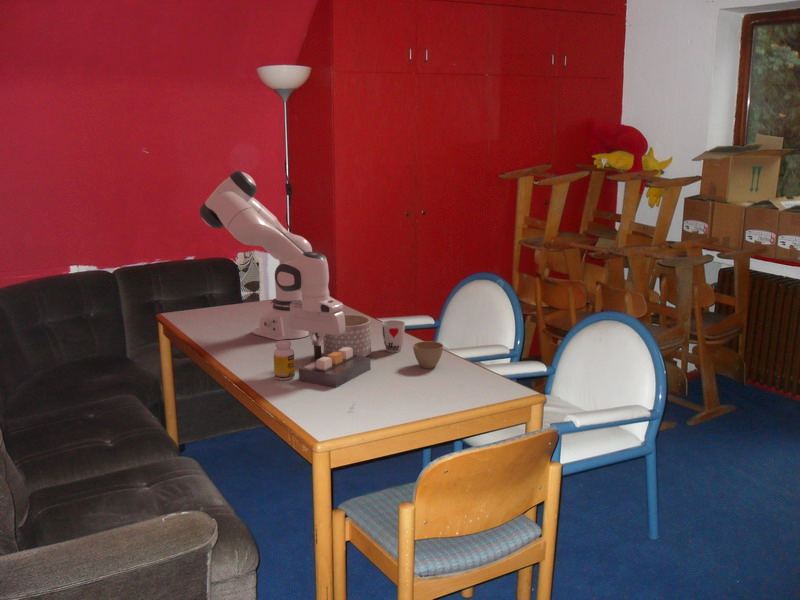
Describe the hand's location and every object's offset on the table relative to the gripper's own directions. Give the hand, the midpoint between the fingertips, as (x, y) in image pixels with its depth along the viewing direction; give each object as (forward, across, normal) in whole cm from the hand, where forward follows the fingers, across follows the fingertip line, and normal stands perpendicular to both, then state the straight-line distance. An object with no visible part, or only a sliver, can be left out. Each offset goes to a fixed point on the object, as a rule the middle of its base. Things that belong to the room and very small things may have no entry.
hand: (317, 345), depth 243 cm
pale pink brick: (+5, +6, +7) cm, 10 cm away
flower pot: (+9, +28, +23) cm, 37 cm away
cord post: (+9, -7, +9) cm, 14 cm away
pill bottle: (+9, -6, -9) cm, 15 cm away
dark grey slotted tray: (+9, +6, +1) cm, 11 cm away
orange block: (+5, +7, +1) cm, 8 cm away
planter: (+9, -2, +20) cm, 22 cm away
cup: (+9, +9, +33) cm, 35 cm away
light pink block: (+5, +6, -5) cm, 10 cm away
